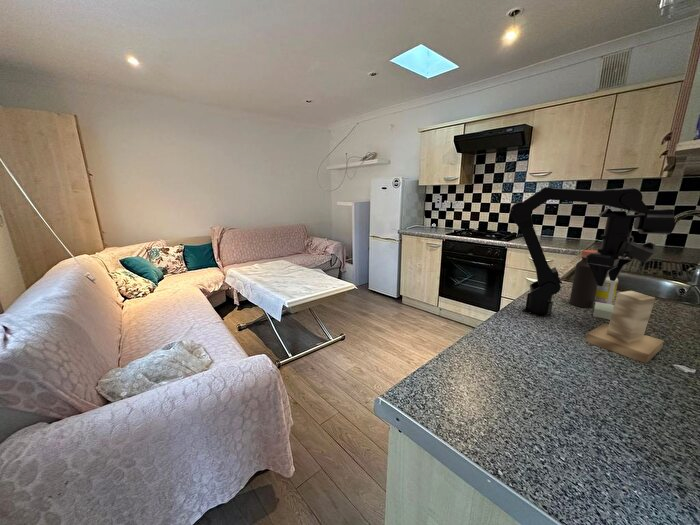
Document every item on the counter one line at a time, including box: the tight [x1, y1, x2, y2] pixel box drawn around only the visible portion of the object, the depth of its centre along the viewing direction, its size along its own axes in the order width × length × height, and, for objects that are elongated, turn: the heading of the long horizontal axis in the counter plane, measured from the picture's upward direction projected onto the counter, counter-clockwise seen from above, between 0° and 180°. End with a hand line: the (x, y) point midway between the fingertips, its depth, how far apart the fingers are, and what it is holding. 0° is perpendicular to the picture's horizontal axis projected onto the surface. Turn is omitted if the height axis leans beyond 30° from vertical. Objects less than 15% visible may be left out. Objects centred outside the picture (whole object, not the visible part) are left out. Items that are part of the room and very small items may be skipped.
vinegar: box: [569, 249, 598, 309], centre depth 98 cm, size 7×7×20 cm
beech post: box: [607, 290, 656, 343], centre depth 72 cm, size 5×5×12 cm
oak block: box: [584, 322, 665, 364], centre depth 74 cm, size 12×12×3 cm
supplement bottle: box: [594, 273, 619, 305], centre depth 100 cm, size 7×7×13 cm
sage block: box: [592, 302, 614, 321], centre depth 91 cm, size 8×8×3 cm
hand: (606, 283), depth 84 cm, fingers open, 9 cm apart
